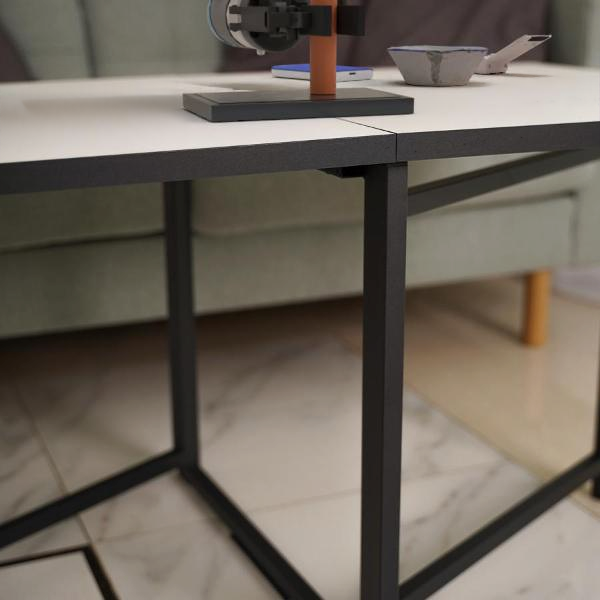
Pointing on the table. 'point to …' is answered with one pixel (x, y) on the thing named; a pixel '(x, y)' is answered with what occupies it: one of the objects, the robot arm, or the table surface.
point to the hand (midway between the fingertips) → (344, 20)
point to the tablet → (295, 104)
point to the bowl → (437, 64)
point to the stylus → (324, 56)
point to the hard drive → (304, 72)
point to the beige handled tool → (508, 54)
